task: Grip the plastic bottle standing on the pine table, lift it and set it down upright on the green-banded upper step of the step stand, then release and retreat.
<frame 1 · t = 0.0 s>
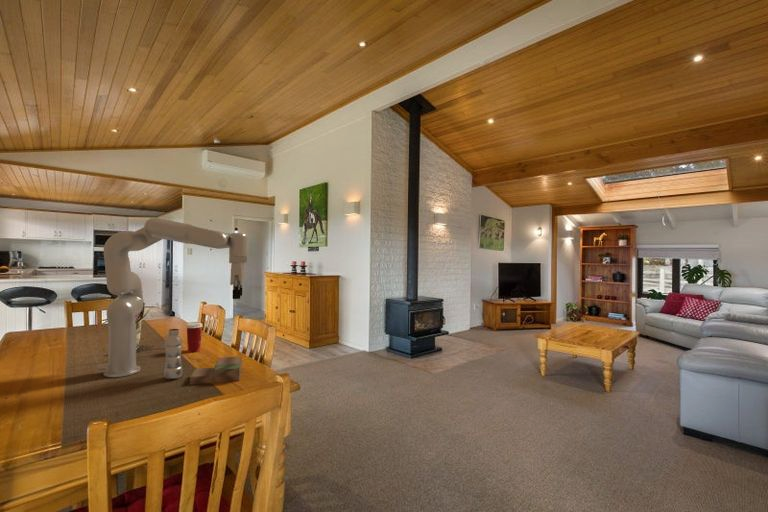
hand: (237, 297, 165), 31 cm above the table, fingers open, 9 cm apart
paper cup: (194, 351, 186), on the table
plastic bottle: (173, 378, 148), on the table
step stand: (217, 378, 149), on the table
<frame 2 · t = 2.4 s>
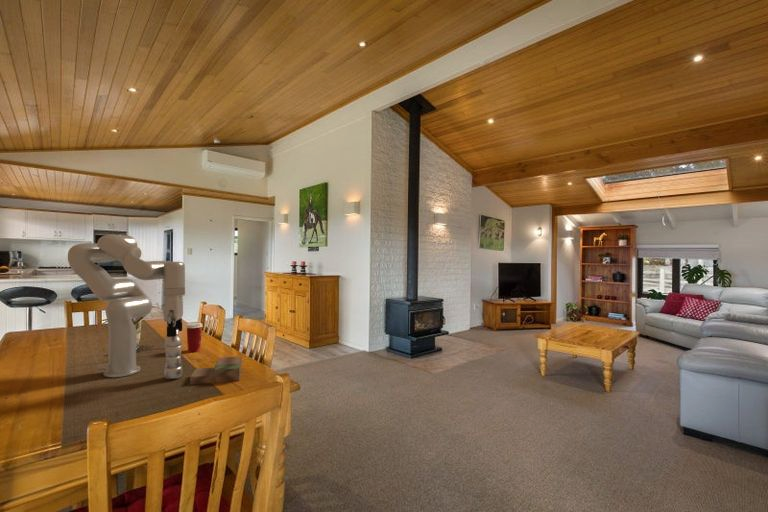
hand: (174, 333, 147), 18 cm above the table, fingers open, 9 cm apart
nothing on the table moved.
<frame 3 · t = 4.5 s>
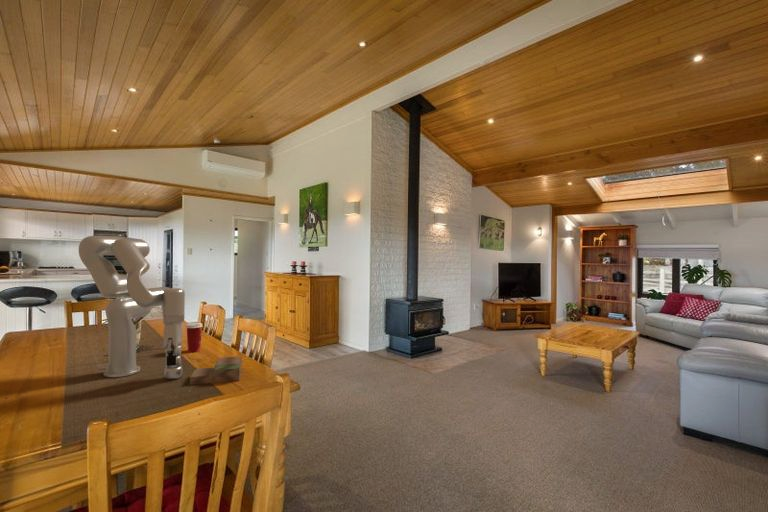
hand: (173, 362, 147), 6 cm above the table, fingers closed on plastic bottle, 5 cm apart
plastic bottle: (173, 378, 148), on the table, touching gripper
everything else where it was.
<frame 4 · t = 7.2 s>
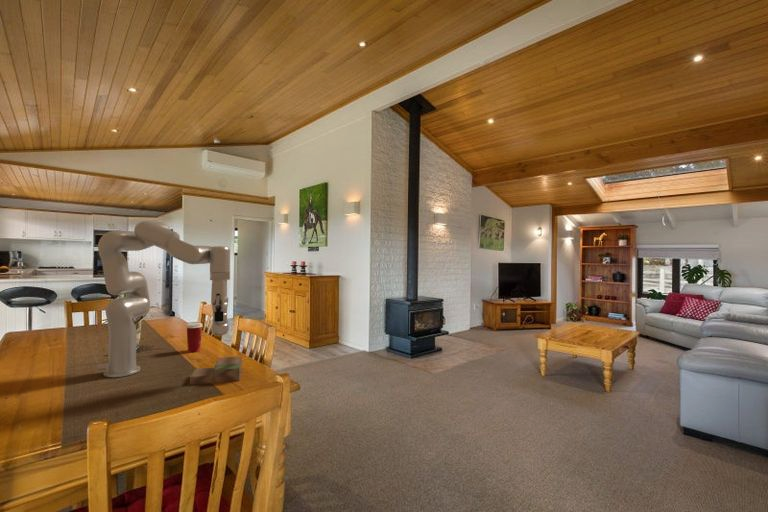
hand: (220, 319, 149), 24 cm above the table, fingers closed on plastic bottle, 5 cm apart
plastic bottle: (220, 335, 149), point 18 cm above the table, touching gripper
everything else where it was.
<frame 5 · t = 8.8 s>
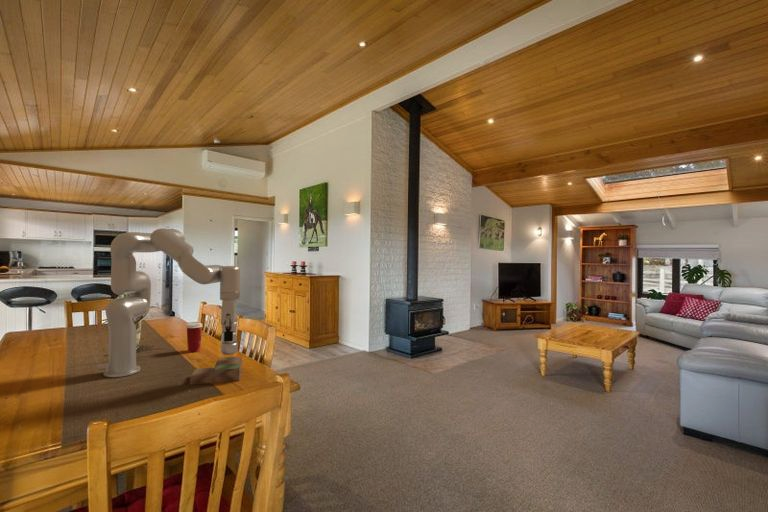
hand: (229, 338, 150), 16 cm above the table, fingers closed on plastic bottle, 5 cm apart
plastic bottle: (229, 354, 150), point 10 cm above the table, touching gripper
everything else where it was.
when the fingers open (15 cm above the table, at t = 9.9 s): plastic bottle drops 1 cm, resting on step stand.
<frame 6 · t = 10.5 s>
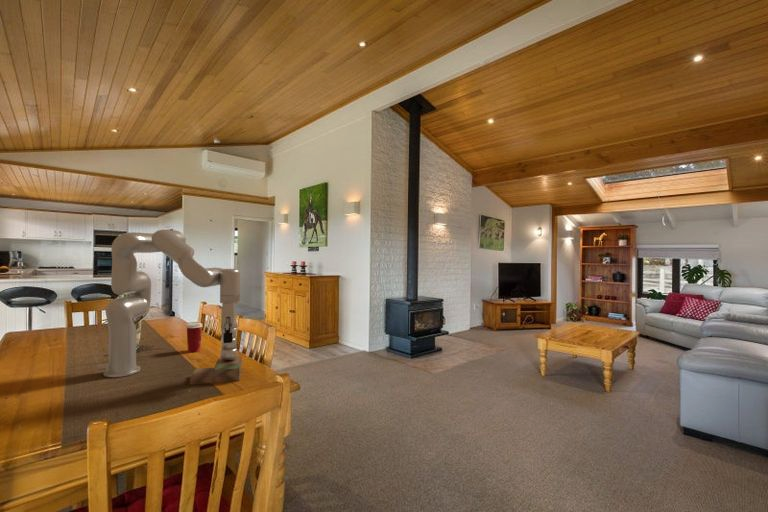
hand: (229, 339, 150), 16 cm above the table, fingers open, 9 cm apart
plastic bottle: (229, 360, 151), point 7 cm above the table, touching step stand
everything else where it was.
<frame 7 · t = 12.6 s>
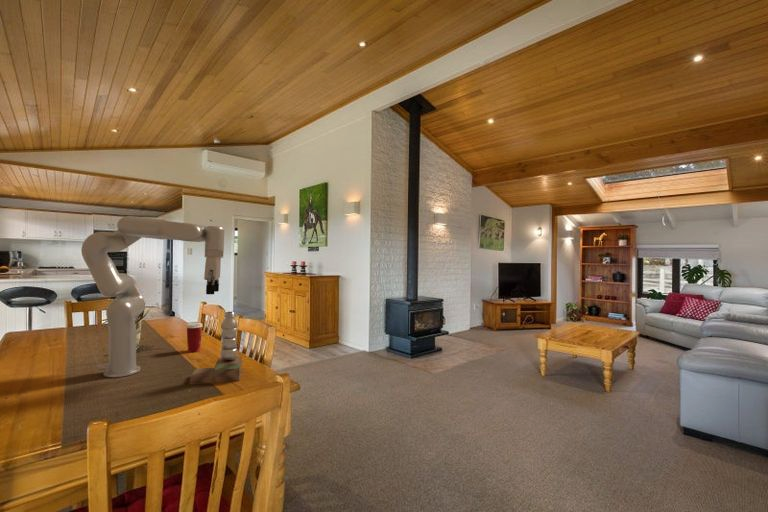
hand: (212, 292, 159), 34 cm above the table, fingers open, 9 cm apart
nothing on the table moved.
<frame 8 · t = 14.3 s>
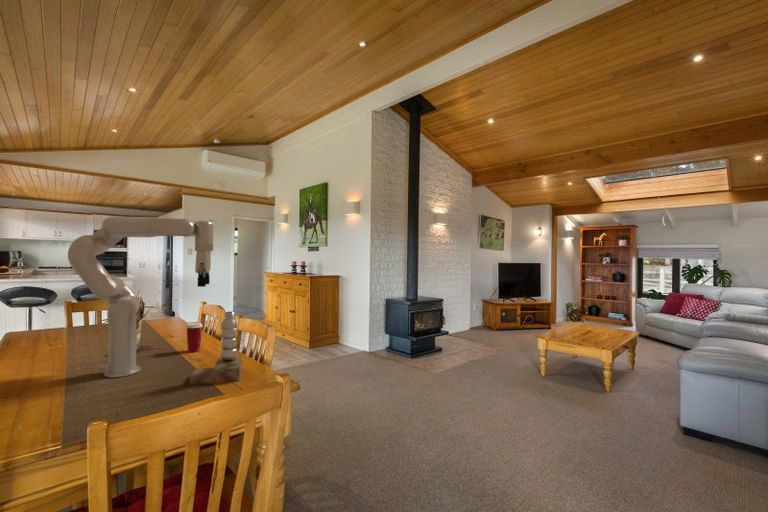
hand: (203, 285, 165), 36 cm above the table, fingers open, 9 cm apart
nothing on the table moved.
at the end: plastic bottle inside the target area on the step stand (1.3 cm from its centre), point 6.8 cm above the step stand's base; plastic bottle tilted 0°; the gripper is holding nothing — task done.
